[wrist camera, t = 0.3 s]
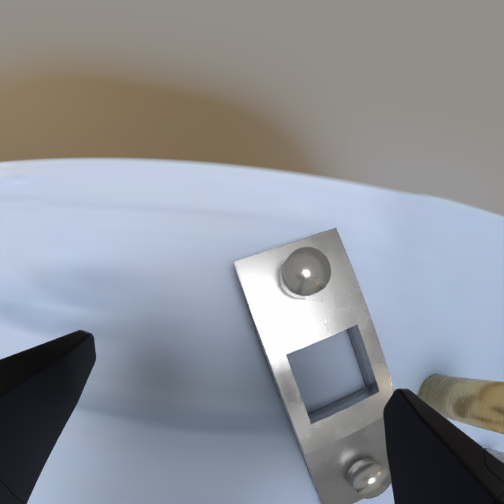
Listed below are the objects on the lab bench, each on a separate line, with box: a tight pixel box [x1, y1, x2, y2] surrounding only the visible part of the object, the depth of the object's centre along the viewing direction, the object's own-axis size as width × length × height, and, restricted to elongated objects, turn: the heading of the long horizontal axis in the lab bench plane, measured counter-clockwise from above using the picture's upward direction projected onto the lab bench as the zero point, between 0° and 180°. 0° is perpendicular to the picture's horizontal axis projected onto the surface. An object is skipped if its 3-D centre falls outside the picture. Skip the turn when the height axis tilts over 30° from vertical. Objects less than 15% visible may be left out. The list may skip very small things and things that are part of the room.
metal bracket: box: [234, 228, 394, 504], centre depth 19 cm, size 23×8×5 cm, turn 20°
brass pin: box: [418, 374, 504, 434], centre depth 16 cm, size 4×4×12 cm
